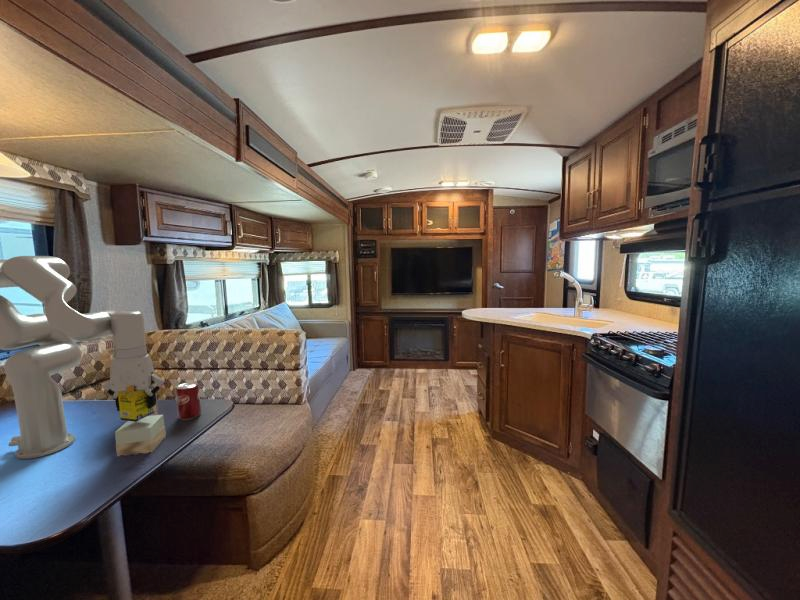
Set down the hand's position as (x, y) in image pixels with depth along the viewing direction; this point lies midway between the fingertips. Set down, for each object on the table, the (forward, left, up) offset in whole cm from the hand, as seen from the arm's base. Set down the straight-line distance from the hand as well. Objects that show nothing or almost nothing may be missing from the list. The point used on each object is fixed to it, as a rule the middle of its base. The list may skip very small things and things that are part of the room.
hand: (136, 407), depth 101 cm
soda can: (+6, +19, -13) cm, 24 cm away
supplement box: (0, 0, -3) cm, 3 cm away
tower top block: (0, 0, -9) cm, 9 cm away
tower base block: (0, 0, -13) cm, 13 cm away
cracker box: (-9, +21, -13) cm, 26 cm away
